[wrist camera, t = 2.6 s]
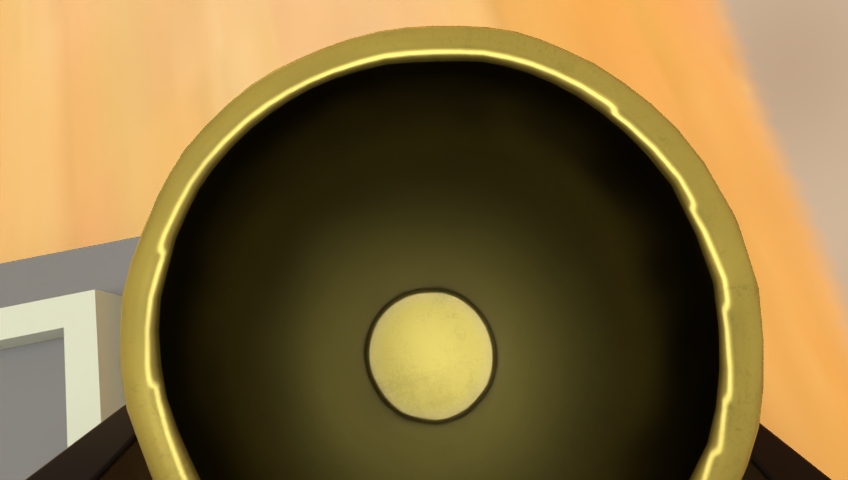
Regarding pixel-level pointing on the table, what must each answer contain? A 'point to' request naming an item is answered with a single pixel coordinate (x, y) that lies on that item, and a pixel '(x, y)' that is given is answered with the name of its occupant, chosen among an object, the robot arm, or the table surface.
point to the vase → (442, 278)
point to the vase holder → (59, 350)
